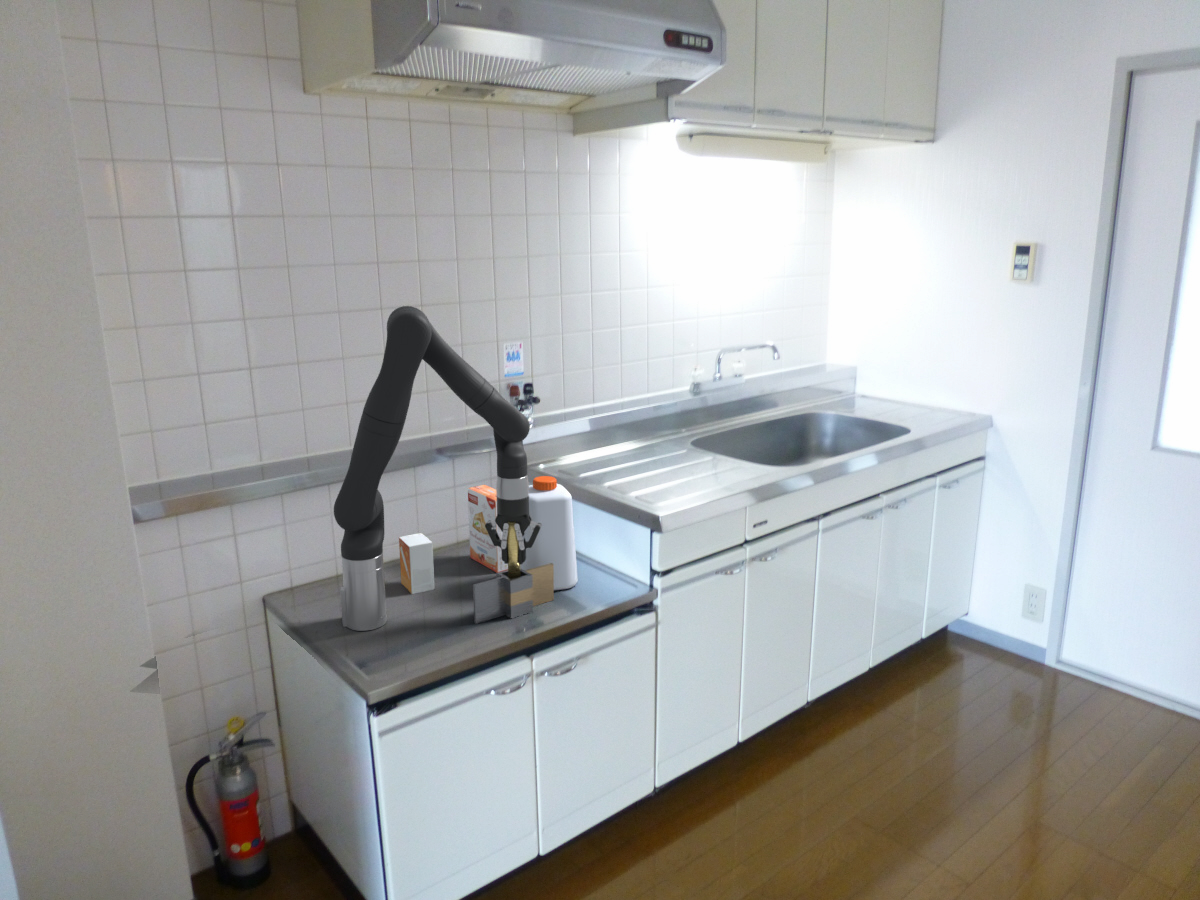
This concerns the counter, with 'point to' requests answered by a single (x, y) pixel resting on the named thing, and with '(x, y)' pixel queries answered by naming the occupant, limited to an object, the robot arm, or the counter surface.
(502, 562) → the cracker box
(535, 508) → the plastic bottle
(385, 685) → the counter surface
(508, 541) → the hinge pin
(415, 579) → the small box
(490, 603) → the hinge
